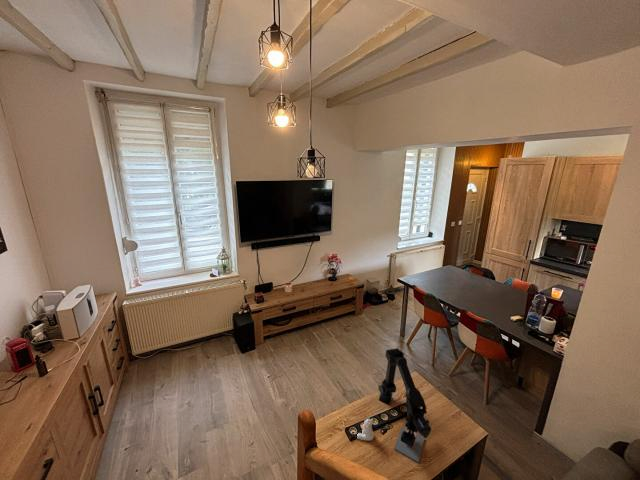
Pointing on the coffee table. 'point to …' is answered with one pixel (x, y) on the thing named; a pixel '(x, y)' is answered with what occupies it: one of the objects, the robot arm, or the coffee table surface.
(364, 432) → the white creature statuette
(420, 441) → the charcoal mat
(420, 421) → the robot arm
